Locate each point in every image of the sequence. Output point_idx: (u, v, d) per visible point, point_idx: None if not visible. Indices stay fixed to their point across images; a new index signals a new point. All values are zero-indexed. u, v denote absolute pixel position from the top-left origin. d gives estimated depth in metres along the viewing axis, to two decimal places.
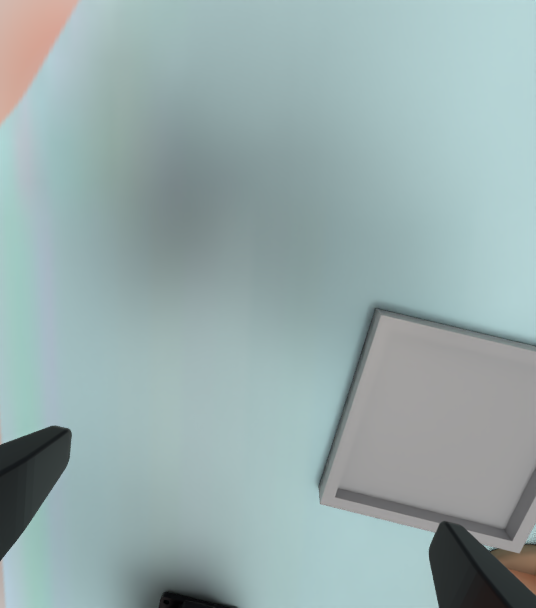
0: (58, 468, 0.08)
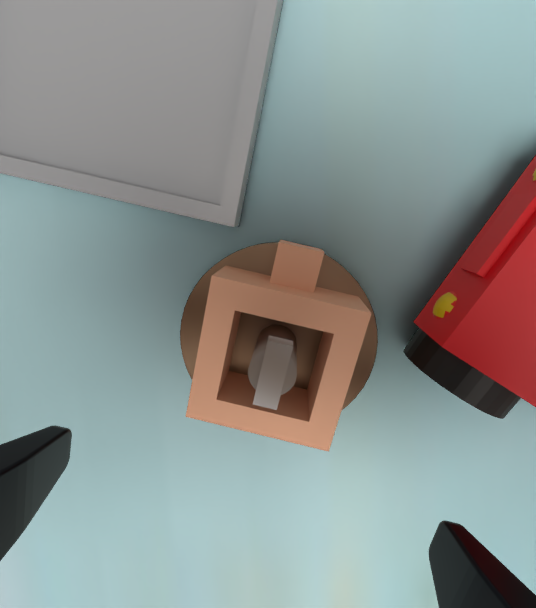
0: (58, 468, 0.08)
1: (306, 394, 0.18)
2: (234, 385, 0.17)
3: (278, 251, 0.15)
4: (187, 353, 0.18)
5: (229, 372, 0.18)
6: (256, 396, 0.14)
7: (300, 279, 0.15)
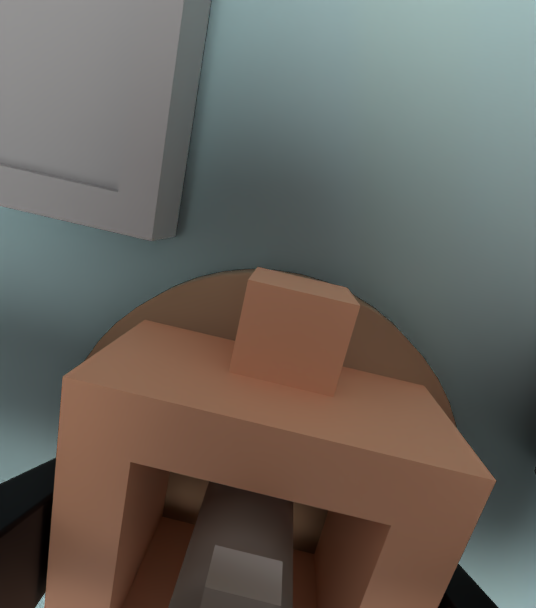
0: None
1: (313, 574, 0.09)
2: (163, 571, 0.08)
3: (248, 301, 0.06)
4: None
5: (162, 522, 0.09)
6: None
7: (301, 367, 0.07)
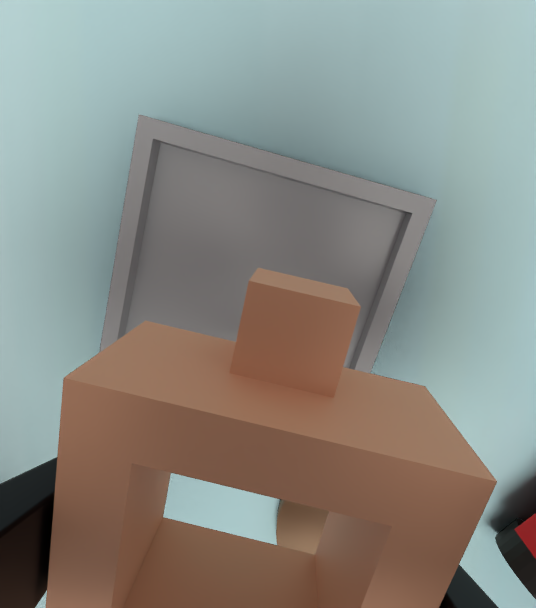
0: None
1: (314, 574, 0.09)
2: (164, 572, 0.08)
3: (248, 302, 0.06)
4: (281, 539, 0.21)
5: (163, 523, 0.09)
6: None
7: (302, 367, 0.07)
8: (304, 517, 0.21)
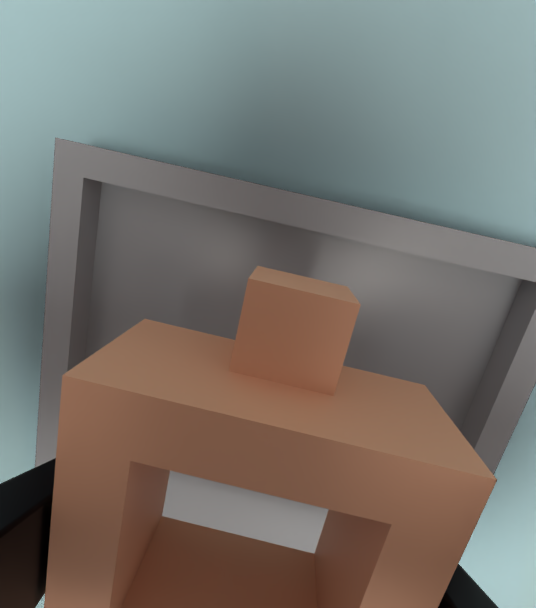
0: None
1: (313, 573, 0.09)
2: (163, 570, 0.08)
3: (248, 300, 0.06)
4: None
5: (162, 522, 0.09)
6: None
7: (301, 365, 0.06)
8: None
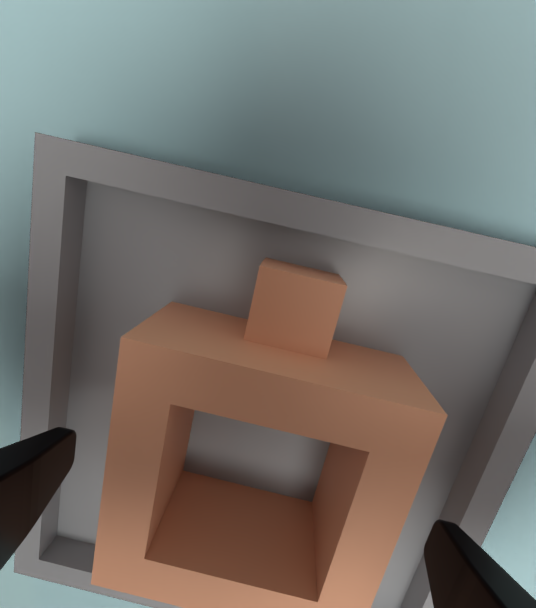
0: (63, 469, 0.08)
1: (311, 516, 0.11)
2: (186, 509, 0.10)
3: (259, 283, 0.08)
4: None
5: (183, 474, 0.11)
6: None
7: (301, 335, 0.08)
8: None
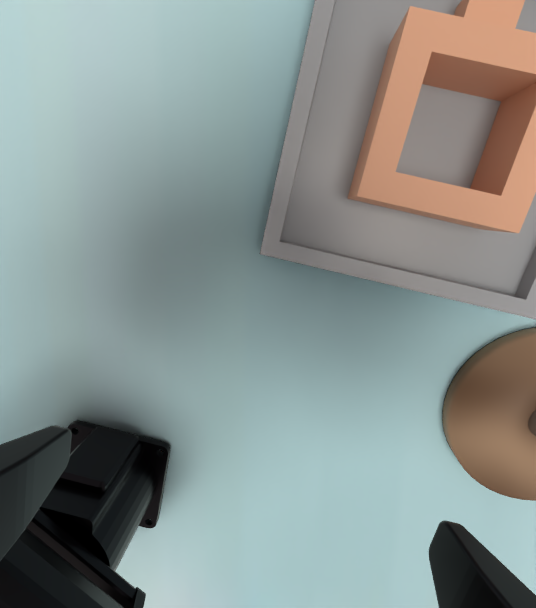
0: (58, 468, 0.08)
1: None
2: None
3: None
4: (455, 428, 0.19)
5: None
6: None
7: None
8: (483, 400, 0.19)
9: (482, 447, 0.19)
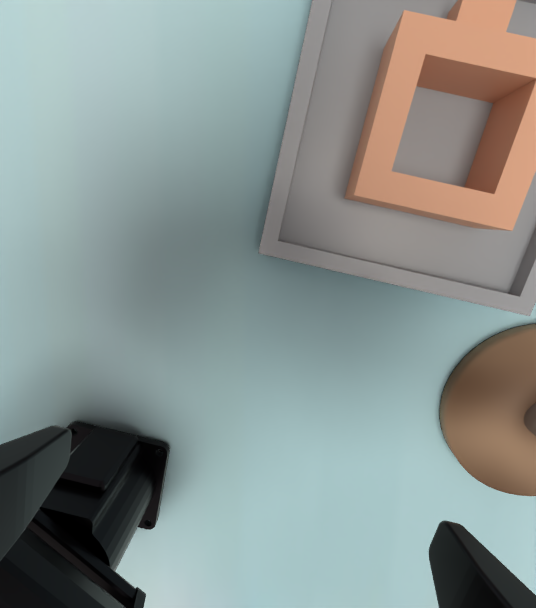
0: (58, 468, 0.08)
1: None
2: None
3: (464, 1, 0.14)
4: (452, 425, 0.20)
5: None
6: None
7: None
8: (480, 397, 0.19)
9: (479, 443, 0.20)
